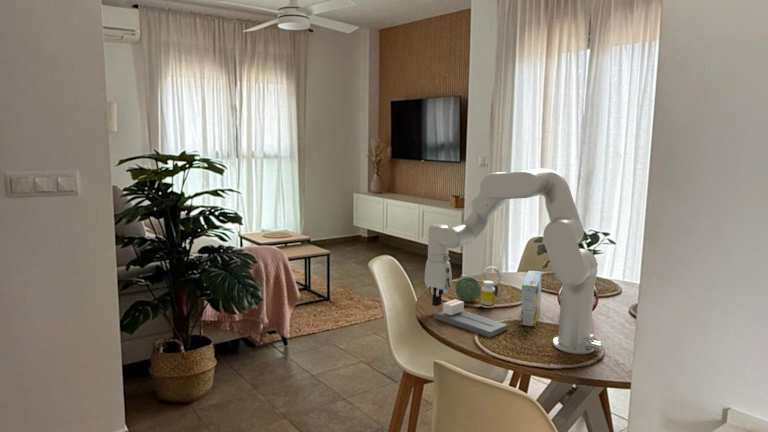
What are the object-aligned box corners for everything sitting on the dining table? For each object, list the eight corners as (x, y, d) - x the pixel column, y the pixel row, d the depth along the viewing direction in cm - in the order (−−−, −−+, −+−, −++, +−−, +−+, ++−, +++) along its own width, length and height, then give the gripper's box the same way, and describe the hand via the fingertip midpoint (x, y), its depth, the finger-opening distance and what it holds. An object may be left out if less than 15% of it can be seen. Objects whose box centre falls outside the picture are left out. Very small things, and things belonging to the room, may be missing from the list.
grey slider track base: (507, 330, 179) (507, 324, 178) (490, 337, 172) (490, 331, 172) (453, 312, 196) (453, 307, 196) (435, 318, 189) (435, 313, 189)
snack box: (525, 307, 203) (527, 269, 201) (540, 309, 201) (543, 271, 199) (519, 325, 184) (521, 284, 181) (535, 327, 182) (538, 286, 179)
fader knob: (463, 311, 190) (463, 301, 190) (451, 315, 186) (451, 305, 185) (455, 308, 193) (455, 298, 193) (442, 312, 189) (443, 303, 188)
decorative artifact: (478, 299, 212) (479, 275, 210) (481, 305, 205) (482, 280, 203) (454, 299, 212) (455, 275, 210) (456, 304, 205) (457, 280, 203)
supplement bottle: (494, 308, 201) (495, 284, 199) (480, 307, 202) (481, 283, 200) (494, 304, 206) (495, 280, 205) (480, 303, 207) (481, 279, 206)
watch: (502, 293, 220) (503, 268, 218) (483, 293, 220) (484, 268, 218) (500, 290, 225) (501, 265, 223) (481, 289, 226) (482, 264, 224)
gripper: (460, 259, 189) (458, 307, 192) (429, 252, 200) (428, 298, 203) (446, 262, 184) (445, 312, 187) (416, 255, 195) (415, 302, 198)
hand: (436, 305), depth 195 cm, fingers closed
